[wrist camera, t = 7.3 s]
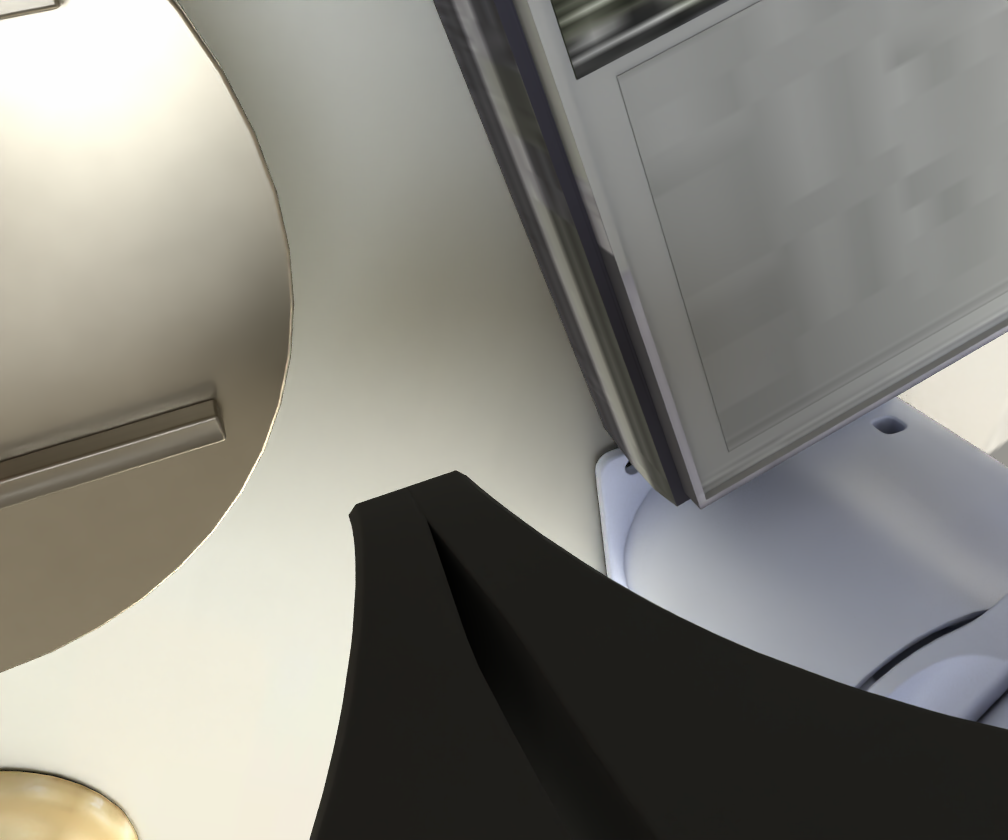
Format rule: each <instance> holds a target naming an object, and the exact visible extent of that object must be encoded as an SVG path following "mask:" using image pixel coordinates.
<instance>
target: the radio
mask: <svg viewBox="0 0 1008 840" xmlns="http://www.w3.org/2000/svg"><path fill="white" fill-rule="evenodd" d="M433 1H434V4H435V6H436V9H437V11H438V14H439V16H440V19H441V21H442V24H443V26H444V29H445V31H446V34H447V36H448V39H449V41H450V44H451V46H452V49H453V51H454V54H455V56H456V59H457V61H458V64H459V66H460V69H461V71H462V74H463V76H464V79H465V81H466V84H467V86H468V89H469V91H470V94H471V96H472V99H473V101H474V104H475V106H476V109H477V111H478V114H479V116H480V119H481V121H482V124H483V126H484V129H485V131H486V134H487V136H488V139H489V141H490V144H491V146H492V149H493V151H494V154H495V156H496V159H497V161H498V164H499V166H500V169H501V171H502V174H503V176H504V179H505V181H506V184H507V186H508V189H509V191H510V194H511V196H512V199H513V201H514V204H515V206H516V208H517V211H518V213H519V216H520V218H521V221H522V223H523V226H524V228H525V231H526V233H527V236H528V238H529V241H530V243H531V246H532V248H533V251H534V253H535V256H536V258H537V261H538V263H539V266H540V268H541V271H542V273H543V276H544V278H545V281H546V283H547V286H548V288H549V291H550V293H551V296H552V298H553V301H554V303H555V306H556V308H557V311H558V313H559V316H560V318H561V321H562V323H563V326H564V328H565V331H566V333H567V336H568V338H569V341H570V343H571V346H572V348H573V351H574V353H575V356H576V358H577V361H578V363H579V366H580V368H581V371H582V373H583V376H584V378H585V381H586V383H587V386H588V388H589V391H590V393H591V396H592V398H593V401H594V403H595V406H596V408H597V411H598V413H599V416H600V418H601V421H602V423H603V426H604V428H605V429H606V430H607V432H608V433H609V434H610V436H611V437H612V439H613V440H614V441H615V443H616V444H617V445H618V447H619V448H620V449H621V451H622V452H623V453H624V455H625V456H626V457H627V459H628V460H629V462H630V463H631V464H632V465H633V466H634V467H635V468H636V470H637V471H638V472H639V473H640V474H641V475H642V476H643V477H644V478H645V479H646V481H647V482H648V483H649V484H650V485H651V486H652V487H653V488H654V489H655V490H656V491H657V492H658V493H660V494H661V495H662V496H664V497H665V498H666V499H667V500H669V501H670V502H671V503H673V504H674V505H675V506H679V505H681V504H683V503H684V502H686V501H688V500H690V499H691V500H692V501H693V502H694V503H695V504H696V505H697V506H698V507H699V508H700V509H703V508H705V507H706V506H708V505H710V504H712V503H713V502H715V501H717V500H718V499H720V498H722V497H724V496H725V495H727V494H729V493H730V492H732V491H734V490H736V489H737V488H739V487H741V486H743V485H744V484H746V483H748V482H749V481H751V480H753V479H755V478H756V477H758V476H760V475H761V474H763V473H765V472H767V471H768V470H770V469H772V468H774V467H775V466H777V465H779V464H780V463H782V462H784V461H786V460H787V459H789V458H791V457H793V456H794V455H796V454H798V453H799V452H801V451H803V450H805V449H806V448H808V447H810V446H811V445H813V444H815V443H817V442H818V441H820V440H822V439H824V438H825V437H827V436H829V435H830V434H832V433H834V432H836V431H837V430H839V429H841V428H842V427H844V426H846V425H848V424H849V423H851V422H853V421H855V420H856V419H858V418H860V417H861V416H863V415H865V414H867V413H868V412H870V411H872V410H874V409H875V408H877V407H879V406H880V405H882V404H884V403H886V402H887V401H889V400H891V399H892V398H894V397H896V396H898V395H899V394H901V393H903V392H905V391H906V390H908V389H910V388H911V387H913V386H915V385H917V384H918V383H920V382H922V381H923V380H925V379H927V378H929V377H930V376H932V375H934V374H936V373H937V372H939V371H941V370H942V369H944V368H946V367H948V366H949V365H951V364H953V363H955V362H956V361H958V360H960V359H961V358H963V357H965V356H967V355H968V354H970V353H972V352H973V351H975V350H977V349H979V348H980V347H982V346H984V345H986V344H987V343H989V342H991V341H992V340H994V339H996V338H998V337H999V336H1001V335H1003V334H1004V333H1006V332H1008V0H433Z"/></svg>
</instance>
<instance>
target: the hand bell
mask: <svg viewBox="0 0 1008 840" xmlns="http://www.w3.org/2000/svg"><path fill="white" fill-rule="evenodd" d="M0 840H138V838H137V834H136V832H135V830H134V828H133V826H132V824H131V823H130V821H129V820H128V818H127V816H126V815H125V813H124V812H123V811H122V810H121V809H120V808H119V807H118V806H117V805H115V804H114V803H112V802H110V801H109V800H108V799H107V798H106V797H104V796H103V795H102V794H100V793H97V792H95V791H93V790H91V789H89V788H87V787H85V786H83V785H80V784H77V783H74V782H71V781H68V780H65V779H61V778H58V777H54V776H49V775H43V774H36V773H28V772H20V771H0Z"/></svg>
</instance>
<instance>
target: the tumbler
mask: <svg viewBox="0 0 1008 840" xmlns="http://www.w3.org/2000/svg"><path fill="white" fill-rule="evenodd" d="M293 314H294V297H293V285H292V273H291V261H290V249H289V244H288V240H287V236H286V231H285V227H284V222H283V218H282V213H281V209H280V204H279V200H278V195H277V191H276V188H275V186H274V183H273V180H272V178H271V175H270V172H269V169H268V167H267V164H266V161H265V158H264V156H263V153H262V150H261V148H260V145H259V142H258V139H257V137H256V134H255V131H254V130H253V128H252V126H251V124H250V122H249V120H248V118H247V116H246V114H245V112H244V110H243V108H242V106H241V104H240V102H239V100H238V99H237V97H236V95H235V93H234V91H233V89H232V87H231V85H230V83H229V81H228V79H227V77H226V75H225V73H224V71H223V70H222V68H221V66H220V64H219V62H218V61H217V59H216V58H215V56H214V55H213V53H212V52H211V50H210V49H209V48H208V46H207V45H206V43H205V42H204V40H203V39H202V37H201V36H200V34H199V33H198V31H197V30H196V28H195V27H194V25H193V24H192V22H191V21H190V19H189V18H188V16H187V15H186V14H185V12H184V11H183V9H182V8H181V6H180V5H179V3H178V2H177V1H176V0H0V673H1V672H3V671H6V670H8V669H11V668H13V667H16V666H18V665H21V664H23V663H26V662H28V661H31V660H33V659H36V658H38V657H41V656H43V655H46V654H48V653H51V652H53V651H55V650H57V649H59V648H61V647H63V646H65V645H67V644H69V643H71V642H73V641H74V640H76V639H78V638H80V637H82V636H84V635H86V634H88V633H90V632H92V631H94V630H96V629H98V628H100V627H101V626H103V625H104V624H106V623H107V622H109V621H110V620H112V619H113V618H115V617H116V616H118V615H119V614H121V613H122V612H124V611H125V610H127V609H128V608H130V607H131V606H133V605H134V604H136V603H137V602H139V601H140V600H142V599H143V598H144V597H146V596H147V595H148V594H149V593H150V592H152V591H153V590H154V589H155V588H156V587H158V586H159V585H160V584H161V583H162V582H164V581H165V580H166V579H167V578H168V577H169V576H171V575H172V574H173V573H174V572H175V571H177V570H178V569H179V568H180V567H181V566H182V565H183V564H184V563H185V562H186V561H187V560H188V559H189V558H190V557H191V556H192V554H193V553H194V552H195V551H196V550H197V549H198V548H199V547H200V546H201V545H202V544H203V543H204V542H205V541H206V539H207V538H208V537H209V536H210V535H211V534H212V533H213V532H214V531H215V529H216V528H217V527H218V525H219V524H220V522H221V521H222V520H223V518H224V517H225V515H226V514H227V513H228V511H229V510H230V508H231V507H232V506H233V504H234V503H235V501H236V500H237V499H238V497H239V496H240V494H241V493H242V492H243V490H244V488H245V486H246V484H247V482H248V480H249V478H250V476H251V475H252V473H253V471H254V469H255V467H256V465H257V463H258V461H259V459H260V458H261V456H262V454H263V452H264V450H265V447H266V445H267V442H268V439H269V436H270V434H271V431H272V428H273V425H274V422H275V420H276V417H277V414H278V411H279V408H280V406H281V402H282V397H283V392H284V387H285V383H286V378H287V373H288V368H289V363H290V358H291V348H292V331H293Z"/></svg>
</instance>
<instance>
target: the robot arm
mask: <svg viewBox="0 0 1008 840" xmlns="http://www.w3.org/2000/svg"><path fill="white" fill-rule="evenodd" d="M628 461H629V460H628V459H627V457H626V456H625V455H624V453H623V452H622V451H621V449H620V448H617V449H614V450H611V451H609V452H607V453H605V454H604V455H603V456H602V457H601V458H600V459H599V460H598V462H597V464H596V469H595V473H596V482H597V491H598V499H599V508H600V517H601V525H602V534H603V542H604V551H605V560H606V568H607V576H605V575H603V574H602V573H600V572H599V571H597V570H595V569H594V568H592V567H591V566H589V565H587V564H586V563H584V562H583V561H581V560H580V559H578V558H577V557H575V556H574V555H572V554H571V553H569V552H568V551H566V550H565V549H563V548H562V547H560V546H559V545H557V544H556V543H554V542H553V541H551V540H550V539H548V538H547V537H545V536H544V535H542V534H541V533H539V532H538V531H536V530H535V529H534V528H532V527H531V526H529V525H528V524H527V523H525V522H524V521H523V520H521V519H520V518H519V517H517V516H516V515H515V514H513V513H512V512H511V511H509V510H508V509H507V508H505V507H504V506H503V505H501V504H500V503H499V502H498V501H496V500H495V499H494V498H492V497H491V496H490V495H489V494H488V493H486V492H485V491H484V490H483V489H481V488H480V487H479V486H478V485H477V484H475V483H474V482H473V481H472V480H471V479H470V478H468V477H467V476H466V475H464V474H462V473H460V472H458V471H453V472H450V473H447V474H444V475H441V476H438V477H435V478H432V479H429V480H426V481H423V482H420V483H417V484H414V485H411V486H408V487H406V488H403V489H400V490H397V491H394V492H391V493H388V494H385V495H382V496H379V497H376V498H373V499H370V500H367V501H364V502H361V503H358V504H356V505H355V506H354V508H353V509H352V511H351V513H350V514H349V518H350V522H351V525H352V529H353V536H354V545H355V563H356V587H355V603H354V618H353V633H352V642H351V650H350V657H349V664H348V671H347V678H346V684H345V691H344V698H343V704H342V710H341V715H340V720H339V725H338V730H337V735H336V740H335V745H334V749H333V754H332V758H331V762H330V766H329V770H328V774H327V778H326V783H325V787H324V791H323V794H322V798H321V802H320V805H319V809H318V812H317V815H316V819H315V822H314V826H313V829H312V833H311V836H310V840H1008V467H1007V466H1006V465H1004V464H1003V463H1001V462H999V461H998V460H996V459H995V458H993V457H991V456H990V455H988V454H987V453H985V452H984V451H982V450H980V449H979V448H977V447H976V446H974V445H973V444H971V443H969V442H968V441H966V440H965V439H963V438H961V437H960V436H958V435H957V434H955V433H954V432H952V431H950V430H949V429H947V428H946V427H944V426H942V425H941V424H939V423H938V422H936V421H934V420H933V419H931V418H930V417H928V416H927V415H925V414H923V413H922V412H920V411H919V410H917V409H915V408H914V407H912V406H911V405H909V404H908V403H906V402H904V401H903V400H901V399H900V398H898V397H894V398H892V399H891V400H889V401H887V402H886V403H884V404H882V405H880V406H879V407H877V408H875V409H874V410H872V411H870V412H868V413H867V414H865V415H863V416H861V417H860V418H858V419H856V420H855V421H853V422H851V423H849V424H848V425H846V426H844V427H842V428H841V429H839V430H837V431H836V432H834V433H832V434H830V435H829V436H827V437H825V438H824V439H822V440H820V441H818V442H817V443H815V444H813V445H811V446H810V447H808V448H806V449H805V450H803V451H801V452H799V453H798V454H796V455H794V456H793V457H791V458H789V459H787V460H786V461H784V462H782V463H780V464H779V465H777V466H775V467H774V468H772V469H770V470H768V471H767V472H765V473H763V474H761V475H760V476H758V477H756V478H755V479H753V480H751V481H749V482H748V483H746V484H744V485H743V486H741V487H739V488H737V489H736V490H734V491H732V492H730V493H729V494H727V495H725V496H724V497H722V498H720V499H718V500H717V501H715V502H713V503H712V504H710V505H708V506H706V507H705V508H703V509H700V508H699V507H698V506H697V505H696V504H695V503H694V502H693V501H692V500H691V499H690V500H688V501H686V502H684V503H683V504H681V505H679V506H675V505H674V504H673V503H671V502H670V501H669V500H667V499H666V498H665V497H664V496H662V495H661V494H660V493H658V492H657V491H656V490H655V489H654V488H653V487H652V486H651V485H650V484H649V483H648V482H647V481H646V479H645V478H644V477H643V476H642V475H641V474H640V473H639V472H638V471H637V470H636V468H635V467H634V466H633V465H630V466H629V467H626V464H627V463H628Z"/></svg>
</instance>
